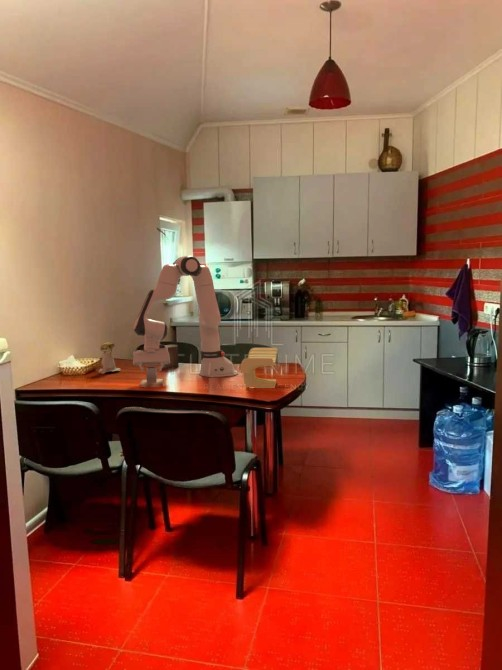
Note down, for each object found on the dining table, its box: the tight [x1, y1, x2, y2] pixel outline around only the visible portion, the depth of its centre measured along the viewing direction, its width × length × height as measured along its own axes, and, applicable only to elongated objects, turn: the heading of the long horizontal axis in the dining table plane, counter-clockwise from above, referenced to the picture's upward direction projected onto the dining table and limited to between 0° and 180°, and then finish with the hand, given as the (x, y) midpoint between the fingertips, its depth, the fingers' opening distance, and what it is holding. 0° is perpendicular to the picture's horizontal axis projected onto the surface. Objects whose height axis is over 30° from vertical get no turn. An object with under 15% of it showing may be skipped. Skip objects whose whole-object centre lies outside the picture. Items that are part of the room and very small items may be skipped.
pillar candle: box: [163, 344, 180, 369], centre depth 323 cm, size 10×10×15 cm
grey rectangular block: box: [145, 365, 158, 383], centre depth 279 cm, size 5×5×8 cm
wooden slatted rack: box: [240, 347, 278, 389], centre depth 271 cm, size 30×16×18 cm, turn 172°
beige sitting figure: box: [98, 341, 121, 375], centre depth 312 cm, size 12×13×18 cm
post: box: [139, 378, 165, 388], centre depth 279 cm, size 12×12×6 cm
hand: (151, 370), depth 278 cm, fingers open, 8 cm apart
